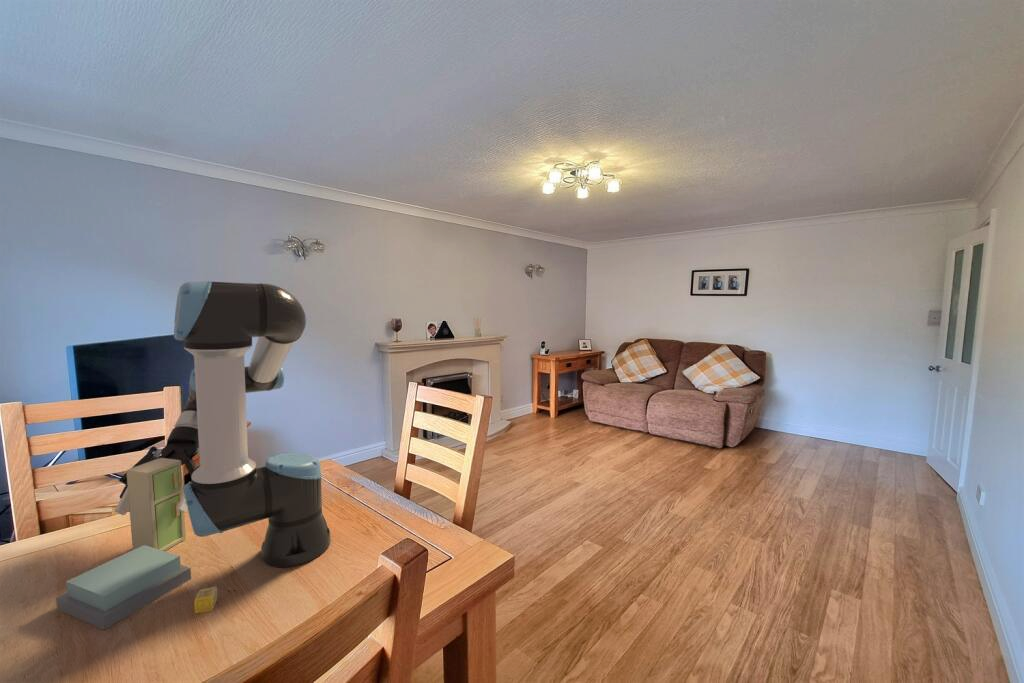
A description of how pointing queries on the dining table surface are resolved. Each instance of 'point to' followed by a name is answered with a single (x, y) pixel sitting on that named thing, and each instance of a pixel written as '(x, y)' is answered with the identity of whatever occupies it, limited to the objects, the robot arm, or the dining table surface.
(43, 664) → the dining table surface
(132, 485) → the toy refrigerator
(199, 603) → the alphabet block
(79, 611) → the brick stand
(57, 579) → the dining table surface
